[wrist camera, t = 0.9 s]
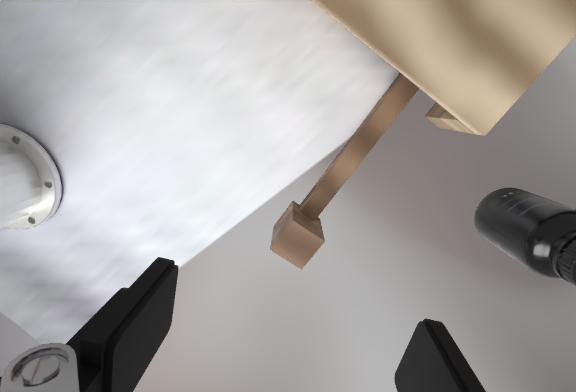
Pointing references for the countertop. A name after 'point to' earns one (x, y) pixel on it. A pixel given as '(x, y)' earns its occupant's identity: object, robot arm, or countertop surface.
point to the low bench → (462, 49)
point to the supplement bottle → (531, 231)
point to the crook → (336, 179)
